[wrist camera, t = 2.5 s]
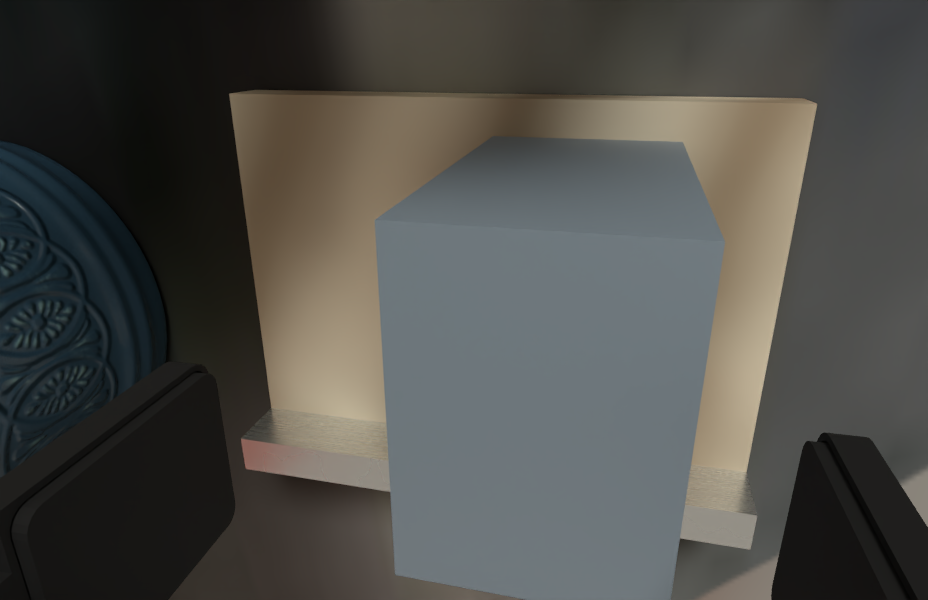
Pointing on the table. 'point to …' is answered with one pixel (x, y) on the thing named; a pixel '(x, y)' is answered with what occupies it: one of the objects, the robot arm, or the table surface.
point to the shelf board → (420, 160)
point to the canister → (66, 304)
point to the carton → (546, 365)
